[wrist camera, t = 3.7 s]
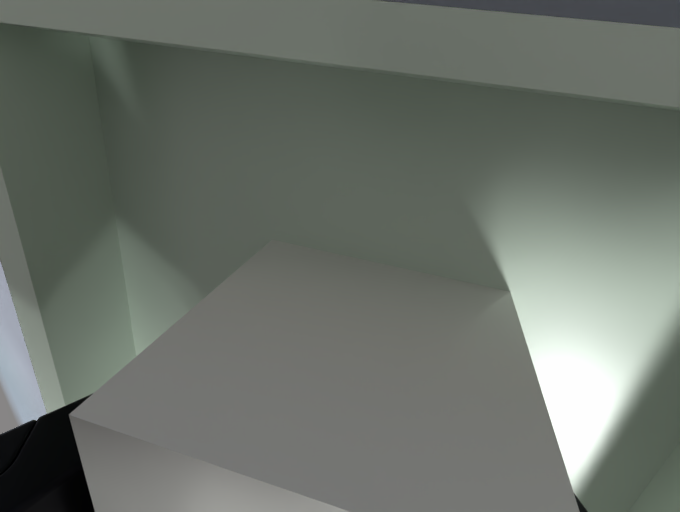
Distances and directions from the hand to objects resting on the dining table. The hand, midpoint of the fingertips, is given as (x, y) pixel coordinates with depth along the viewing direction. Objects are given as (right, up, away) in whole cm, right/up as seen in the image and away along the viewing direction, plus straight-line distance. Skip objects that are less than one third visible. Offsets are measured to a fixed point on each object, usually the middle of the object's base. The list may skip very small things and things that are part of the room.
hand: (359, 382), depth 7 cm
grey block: (0, 0, +1) cm, 1 cm away
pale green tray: (0, +1, +1) cm, 1 cm away
